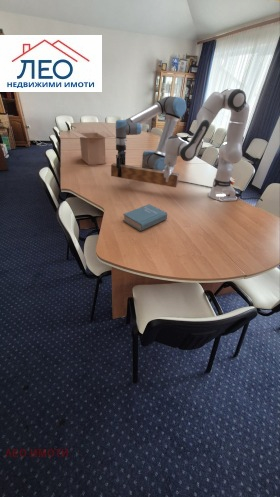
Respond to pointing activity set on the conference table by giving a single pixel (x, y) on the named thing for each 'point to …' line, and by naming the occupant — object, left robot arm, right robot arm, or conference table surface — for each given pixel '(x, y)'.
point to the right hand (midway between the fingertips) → (167, 180)
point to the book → (144, 217)
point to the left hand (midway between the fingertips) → (120, 175)
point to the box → (92, 146)
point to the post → (145, 175)
